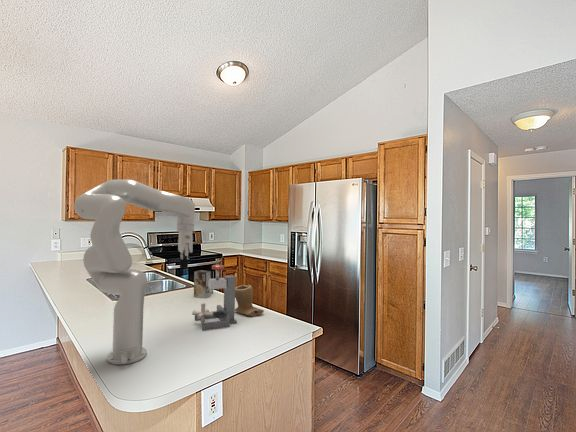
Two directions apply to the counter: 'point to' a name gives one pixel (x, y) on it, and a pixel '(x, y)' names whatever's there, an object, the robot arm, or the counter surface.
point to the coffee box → (201, 283)
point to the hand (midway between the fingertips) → (183, 267)
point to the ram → (217, 279)
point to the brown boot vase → (246, 301)
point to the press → (223, 313)
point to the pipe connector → (202, 313)
